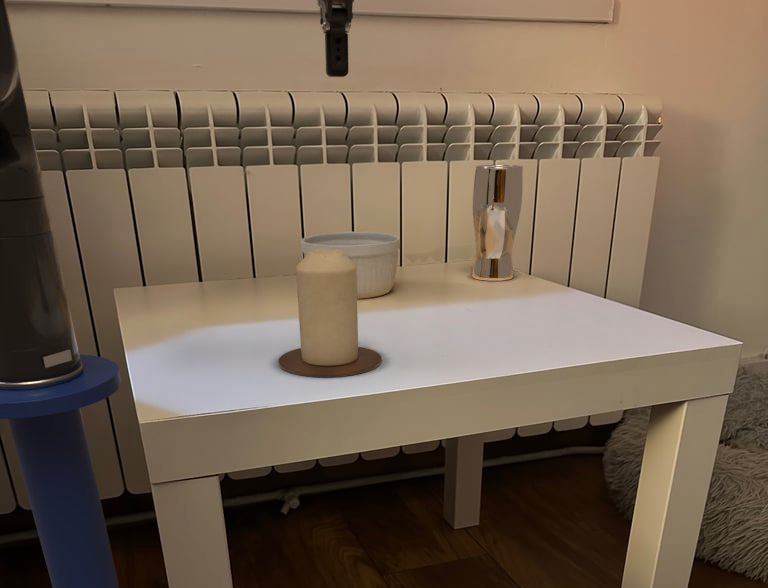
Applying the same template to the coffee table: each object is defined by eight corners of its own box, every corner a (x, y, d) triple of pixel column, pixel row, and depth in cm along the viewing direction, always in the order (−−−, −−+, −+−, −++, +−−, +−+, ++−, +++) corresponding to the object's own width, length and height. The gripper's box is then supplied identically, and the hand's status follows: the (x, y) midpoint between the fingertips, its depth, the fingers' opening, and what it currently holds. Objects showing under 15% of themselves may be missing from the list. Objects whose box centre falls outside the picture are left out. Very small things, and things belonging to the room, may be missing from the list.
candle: (312, 369, 67) (306, 256, 63) (294, 354, 72) (287, 247, 67) (367, 362, 69) (365, 252, 65) (346, 347, 74) (342, 243, 69)
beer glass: (459, 277, 109) (463, 166, 101) (489, 271, 113) (495, 164, 106) (495, 283, 104) (503, 168, 97) (525, 277, 108) (534, 165, 101)
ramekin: (306, 303, 93) (303, 246, 90) (300, 283, 105) (297, 232, 102) (407, 299, 95) (408, 243, 92) (391, 280, 107) (391, 230, 103)
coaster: (280, 380, 66) (280, 376, 65) (276, 350, 74) (276, 347, 74) (389, 374, 67) (389, 370, 67) (373, 345, 76) (373, 342, 76)
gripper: (288, -122, 73) (297, 79, 81) (296, -168, 61) (305, 71, 69) (362, -117, 74) (364, 80, 82) (383, -163, 62) (382, 73, 70)
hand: (337, 76), depth 76 cm, fingers closed
